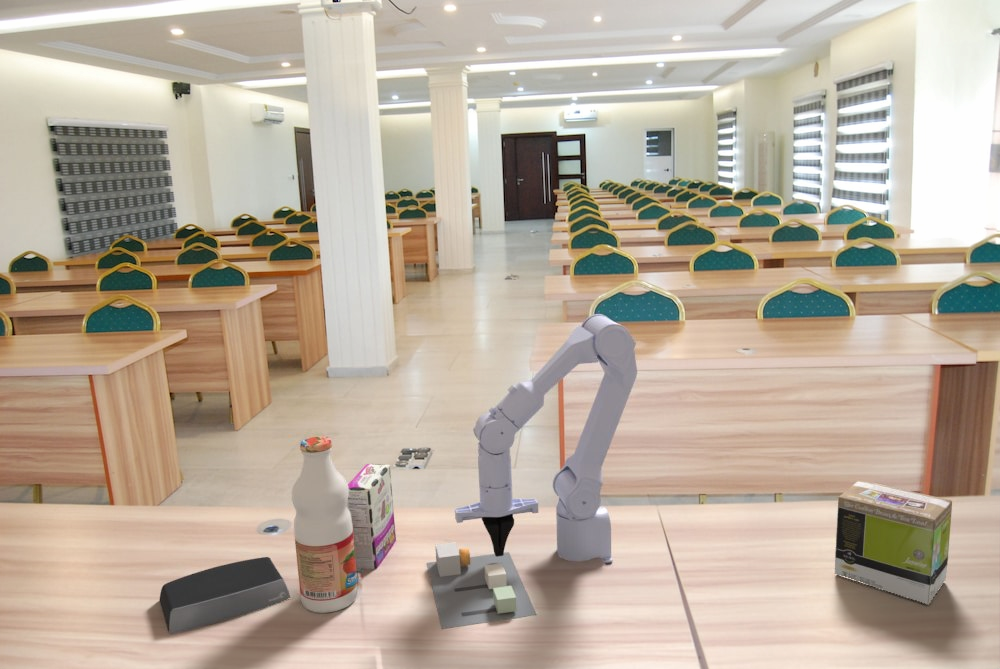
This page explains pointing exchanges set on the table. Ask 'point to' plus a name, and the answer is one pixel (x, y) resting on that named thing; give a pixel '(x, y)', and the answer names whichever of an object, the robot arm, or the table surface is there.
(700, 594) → the table surface
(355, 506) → the candy bar box
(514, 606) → the sage slider
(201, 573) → the external hard drive
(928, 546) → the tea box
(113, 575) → the table surface
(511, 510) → the robot arm
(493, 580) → the off-white slider
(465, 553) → the orange button
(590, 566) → the table surface
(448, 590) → the control panel
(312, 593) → the fruit juice
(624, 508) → the table surface
